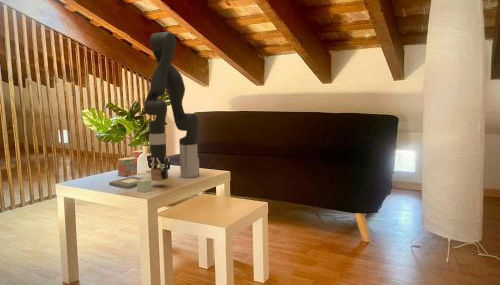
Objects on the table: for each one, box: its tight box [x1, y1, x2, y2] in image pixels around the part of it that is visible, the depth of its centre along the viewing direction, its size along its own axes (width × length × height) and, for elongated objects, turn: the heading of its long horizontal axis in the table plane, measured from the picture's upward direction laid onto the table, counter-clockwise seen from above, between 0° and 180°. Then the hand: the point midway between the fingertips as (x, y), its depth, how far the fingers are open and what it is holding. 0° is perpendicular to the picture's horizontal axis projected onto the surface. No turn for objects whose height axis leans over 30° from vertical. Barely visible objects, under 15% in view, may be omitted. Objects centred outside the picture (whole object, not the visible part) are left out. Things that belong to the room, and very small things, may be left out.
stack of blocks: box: [117, 149, 143, 178], centre depth 217 cm, size 21×6×12 cm, turn 141°
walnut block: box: [150, 166, 169, 182], centre depth 186 cm, size 6×6×5 cm
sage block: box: [136, 178, 153, 193], centre depth 179 cm, size 4×4×5 cm
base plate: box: [108, 176, 144, 190], centre depth 192 cm, size 14×14×2 cm
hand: (159, 177), depth 187 cm, fingers closed on walnut block, 5 cm apart
